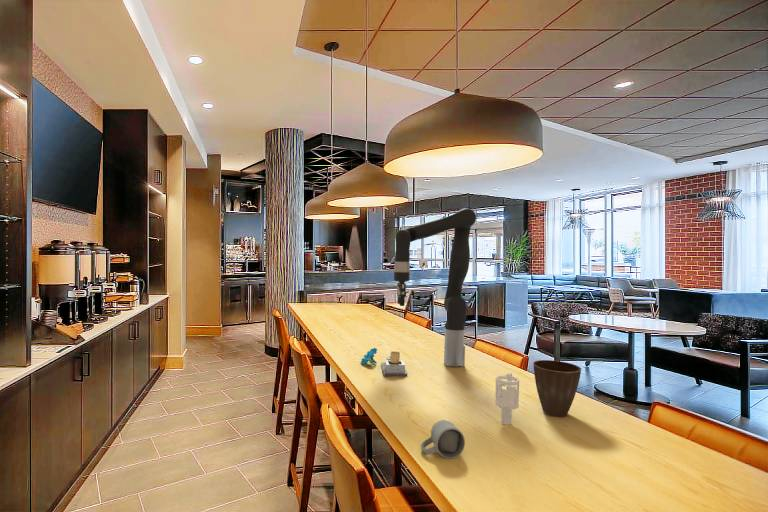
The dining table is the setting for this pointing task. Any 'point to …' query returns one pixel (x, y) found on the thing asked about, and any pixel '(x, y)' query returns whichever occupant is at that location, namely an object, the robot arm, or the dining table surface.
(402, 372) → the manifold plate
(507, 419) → the white stepped cylinder
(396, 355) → the cylinder
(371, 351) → the gear
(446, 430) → the ceramic mug
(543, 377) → the plant pot
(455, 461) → the dining table surface
